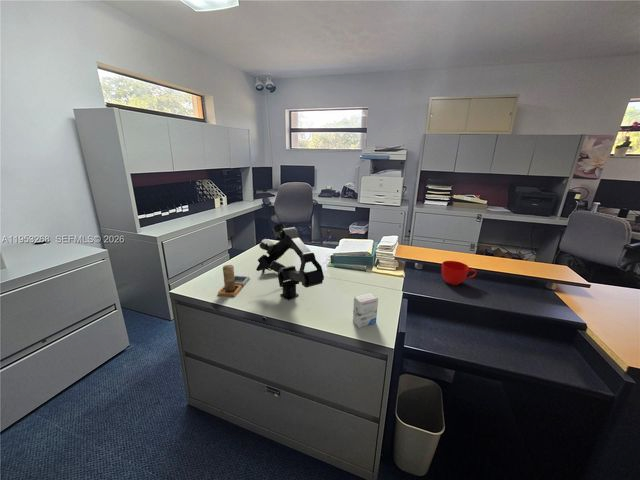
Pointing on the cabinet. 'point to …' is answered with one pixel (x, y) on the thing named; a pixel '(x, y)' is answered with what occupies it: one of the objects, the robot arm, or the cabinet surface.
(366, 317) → the ink box
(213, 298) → the cabinet surface
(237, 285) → the tray
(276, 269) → the gun
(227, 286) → the post
